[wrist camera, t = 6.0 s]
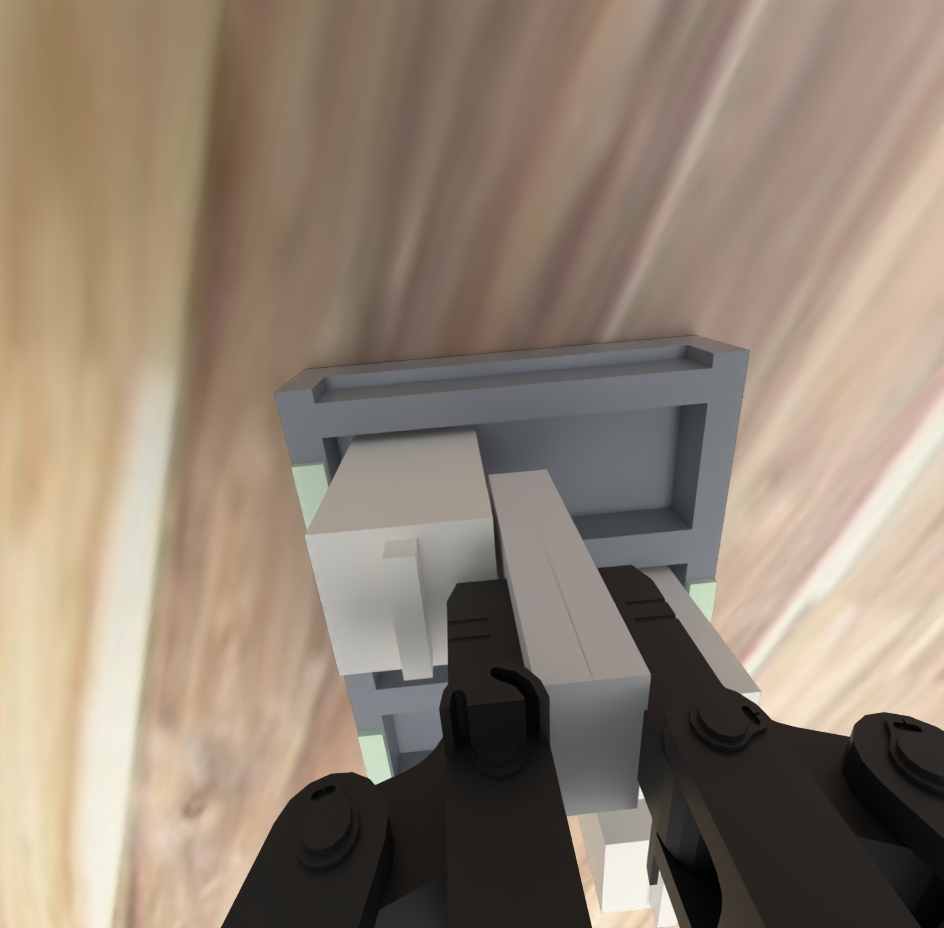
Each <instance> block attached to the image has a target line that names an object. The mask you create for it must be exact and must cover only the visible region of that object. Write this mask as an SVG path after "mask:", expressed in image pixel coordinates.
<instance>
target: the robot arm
mask: <svg viewBox="0 0 944 928" xmlns="http://www.w3.org/2000/svg"><path fill="white" fill-rule="evenodd" d="M488 477H489V492H490V506H491V511H492V516H493V527H494V542H495V557H496V572H497V579H495V580H485V581H475V582H464V583H457V584H456V586H455V588H454V589H453V591H452V593H451V595H450V596H449V598H448V600H447V640H448V643H447V647H448V685H447V686H446V687H445V689H444V690H443V693H442V698H441V702H440V707H439V712H440V720H441V727H442V734H443V737H442V739H441V740H440V742H439V743H438V745H437V746H436V747H435V749H434V750H433V752H431V753H430V754H429V755H428V756H427V757H426V758H425V759H424V760H423V761H422V762H420V763H419V764H417V765H415V766H414V767H412V768H410V769H408V770H407V771H405V772H402V773H400V774H398V775H396V776H394V777H391V778H389V779H387V780H385V781H383V782H380V783H378V784H376V785H375V784H374V783H373V782H372V781H371V779H369V778H366V777H364V776H361V775H358V774H356V773H353V772H349V773H334V774H330V775H327V776H325V777H323V778H321V779H318V780H316V781H314V782H311V783H310V784H308V785H307V786H306V787H305V788H304V789H302V790H301V791H300V792H299V793H298V794H296V795H295V796H294V797H293V798H292V799H291V800H290V801H289V802H288V804H287V805H286V807H285V808H284V809H283V811H282V812H281V814H280V815H279V817H278V818H277V820H276V821H275V822H274V824H273V826H272V828H271V830H270V832H269V834H268V836H267V838H266V840H265V842H264V844H263V846H262V848H261V850H260V852H259V854H258V856H257V858H256V860H255V862H254V864H253V866H252V868H251V870H250V872H249V874H248V875H247V877H246V879H245V881H244V883H243V885H242V887H241V889H240V891H239V893H238V895H237V897H236V899H235V901H234V903H233V905H232V907H231V909H230V911H229V913H228V915H227V917H226V919H225V921H224V923H223V925H222V926H221V928H592V926H591V921H590V917H589V913H588V908H587V904H586V899H585V895H584V891H583V886H582V882H581V878H580V873H579V869H578V864H577V860H576V856H575V851H574V847H573V843H572V838H571V834H570V829H569V825H568V821H567V816H572V815H581V814H590V813H599V812H608V811H617V810H626V809H635V808H637V805H638V796H639V786H640V788H641V791H642V793H643V796H644V798H645V801H646V804H647V806H648V809H649V812H650V814H651V817H652V824H651V832H650V840H649V848H648V856H647V864H646V867H647V873H648V879H649V885H657V882H658V875H659V870H660V873H661V876H662V879H663V882H664V884H665V887H666V890H667V893H668V896H669V898H670V901H671V904H672V907H673V910H674V912H675V915H676V918H677V921H678V924H679V927H680V928H944V731H943V730H941V729H939V728H938V727H935V726H933V725H930V724H928V723H925V722H922V721H920V720H917V719H915V718H912V717H910V716H904V715H898V714H892V713H886V712H883V713H876V714H869V715H865V716H864V717H863V718H862V719H860V720H859V721H858V722H857V723H856V724H855V725H854V727H853V730H852V733H851V736H850V737H848V736H842V735H837V734H831V733H826V732H820V731H815V730H809V729H804V728H798V727H793V726H790V725H786V724H782V723H778V722H775V721H773V720H771V719H770V718H769V716H768V715H767V714H766V713H765V712H764V711H763V710H762V709H761V708H760V707H759V706H758V705H757V704H756V703H754V702H753V701H751V700H749V699H748V698H746V697H745V696H743V695H741V694H740V693H738V692H737V691H734V690H731V689H728V688H725V687H724V686H723V684H722V683H721V682H720V680H719V679H718V677H717V676H716V674H715V673H714V671H713V670H712V668H711V667H710V665H709V664H708V662H707V661H706V659H705V658H704V656H703V655H702V653H701V652H700V650H699V649H698V647H697V646H696V644H695V643H694V641H693V640H692V638H691V637H690V635H689V634H688V632H687V631H686V629H685V628H684V626H683V625H682V623H681V622H680V620H679V619H676V615H675V613H674V611H673V610H672V608H671V607H670V605H669V604H668V602H665V598H664V596H663V595H662V593H661V592H660V590H659V589H658V587H657V586H656V584H655V583H654V581H653V580H652V579H651V578H650V577H648V576H647V575H645V574H644V573H643V572H641V571H640V570H638V569H637V568H636V567H634V566H633V565H622V566H612V567H601V568H596V566H595V564H594V562H593V560H592V558H591V556H590V554H589V552H588V550H587V548H586V546H585V544H584V542H583V540H582V538H581V536H580V534H579V532H578V530H577V528H576V526H575V524H574V522H573V520H572V518H571V516H570V514H569V513H568V511H567V509H566V507H565V505H564V503H563V501H562V499H561V497H560V495H559V493H558V491H557V489H556V487H555V485H554V483H553V481H552V479H551V477H550V475H549V473H548V471H547V469H546V470H535V471H524V472H513V473H502V474H491V475H488Z"/></svg>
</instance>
